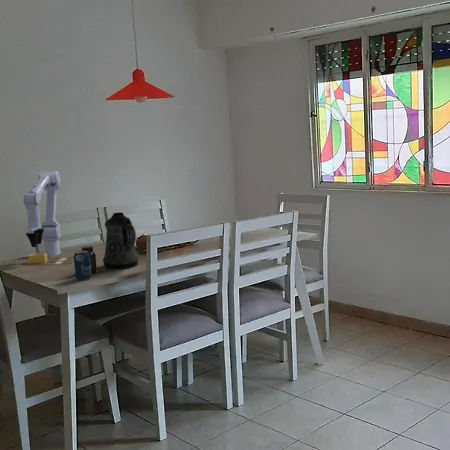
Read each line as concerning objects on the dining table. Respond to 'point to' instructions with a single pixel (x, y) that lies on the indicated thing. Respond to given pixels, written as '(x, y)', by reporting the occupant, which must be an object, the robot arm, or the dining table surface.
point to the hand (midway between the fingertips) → (36, 245)
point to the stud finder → (37, 258)
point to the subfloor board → (53, 261)
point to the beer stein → (120, 243)
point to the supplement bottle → (92, 257)
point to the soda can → (82, 265)
